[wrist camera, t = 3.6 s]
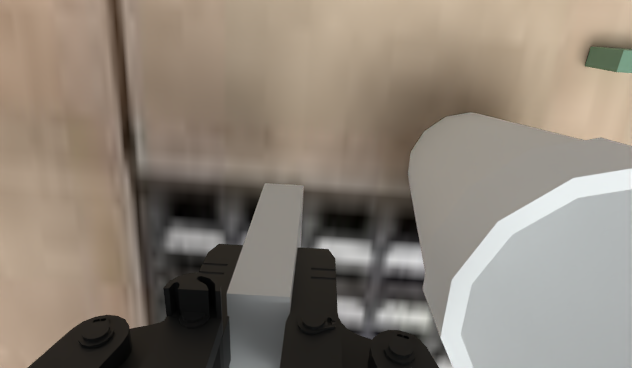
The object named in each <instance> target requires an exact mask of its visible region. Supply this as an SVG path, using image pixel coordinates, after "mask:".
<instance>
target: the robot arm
mask: <svg viewBox="0 0 632 368" xmlns="http://www.w3.org/2000/svg"><path fill="white" fill-rule="evenodd" d="M303 189H304V185H288V184H271V183H265V184H264V187H263V190H262V193H261V196H260V198H259V201H258V204H257V207H256V210H255V213H254V216H253V219H252V221H251V224H250V227H249V230H248V233H247V236H246V239H245V242H244V245H228V244H218V245H217V246H216V247H215V248H213V249H212V250H211V251H210V252H208V254H207V256H206V258H205V260H204V262H203V265H202V267H201V269H200V271H199V273H189V274H185V275H182V276H178V277H177V278H175V279H173V280H171V281H170V282H169V283H168V284H167V285H166V286H165V287H164V296H165V304H166V313H167V317H166V319H165V321H162V322H160V323H157V324H153V325H149V326H143V327H138V328H132V329H129V325H128V323H127V322H126V320H125V319H123V318H121V317H119V316H113V315H104V316H98V317H94V318H91V319H89V320H86V321H83V322H82V323H80V324H79V325H77V326H76V327H74V328H73V329H72V330H70V331H69V332H68V333H67V334H66V335H65V336H64V337H62V338H61V339H60V340H59V341H58V342H57V343H55V344H54V345H53V346H52V347H51V348H50V349H49V350H47V351H46V352H45V353H44V354H43V355H42V356H41V357H39V358H38V359H37V360H36V361H35V362H34V363H33V364H31V365H30V366H29V367H28V368H439V367H438V365H437V364H436V362H435V361H434V359H433V357H432V356H431V354H430V352H429V351H428V349H427V347H426V346H425V345H424V344H423V343H422V342H421V341H420V340H419V339H418V338H416V337H415V336H413V335H411V334H409V333H406V332H403V331H399V330H388V331H384V332H381V333H379V334H378V335H377V336H375V337H374V338H373V340H371V339H368V338H365V337H362V336H359V335H357V334H355V333H353V332H351V331H350V330H348V329H347V328H346V327H345V326H344V325H343V324H342V323H341V321H340V319H339V317H338V313H337V291H336V267H335V258H334V256H333V255H332V254H331V252H330V251H329V250H328V249H315V248H301V231H302V210H303Z"/></svg>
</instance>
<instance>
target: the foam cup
mask: <svg viewBox="0 0 632 368" xmlns="http://www.w3.org/2000/svg"><path fill="white" fill-rule="evenodd" d="M408 176H409V177H408V180H409V185H410V191H411V196H412V202H413V207H414V213H415V218H416V224H417V229H418V235H419V240H420V246H421V251H422V257H423V263H424V268H425V278H424V284H423V291H424V294H425V297H426V300H427V302H428V305H429V308H430V310H431V313H432V316H433V318H434V321H435V324H436V326H437V329H438V332H439V335H440V337H441V340H442V342H443V345H444V347H445V349H446V352H447V354H448V357H449V359H450V361H451V364H452V366H453V368H632V146H630V145H626V144H622V143H619V142H615V141H612V140H608V139H604V138H595V139H590V140H582V139H578V138H574V137H570V136H566V135H562V134H558V133H554V132H550V131H546V130H542V129H538V128H534V127H530V126H526V125H522V124H518V123H514V122H510V121H506V120H502V119H498V118H494V117H490V116H486V115H482V114H478V113H472V112H469V113H464V114H458V115H453V116H447V117H445V118H443V119H442V120H440V121H439V122H437V123H436V124H434V125H433V126H431V127H430V128H428V129H427V130H425V131H424V132H423V134H422V135H421V137H420V138H419V140H418V141H417V143H416V144H415V146H414V148H413V149H412V151H411V154H410V161H409V169H408Z"/></svg>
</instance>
